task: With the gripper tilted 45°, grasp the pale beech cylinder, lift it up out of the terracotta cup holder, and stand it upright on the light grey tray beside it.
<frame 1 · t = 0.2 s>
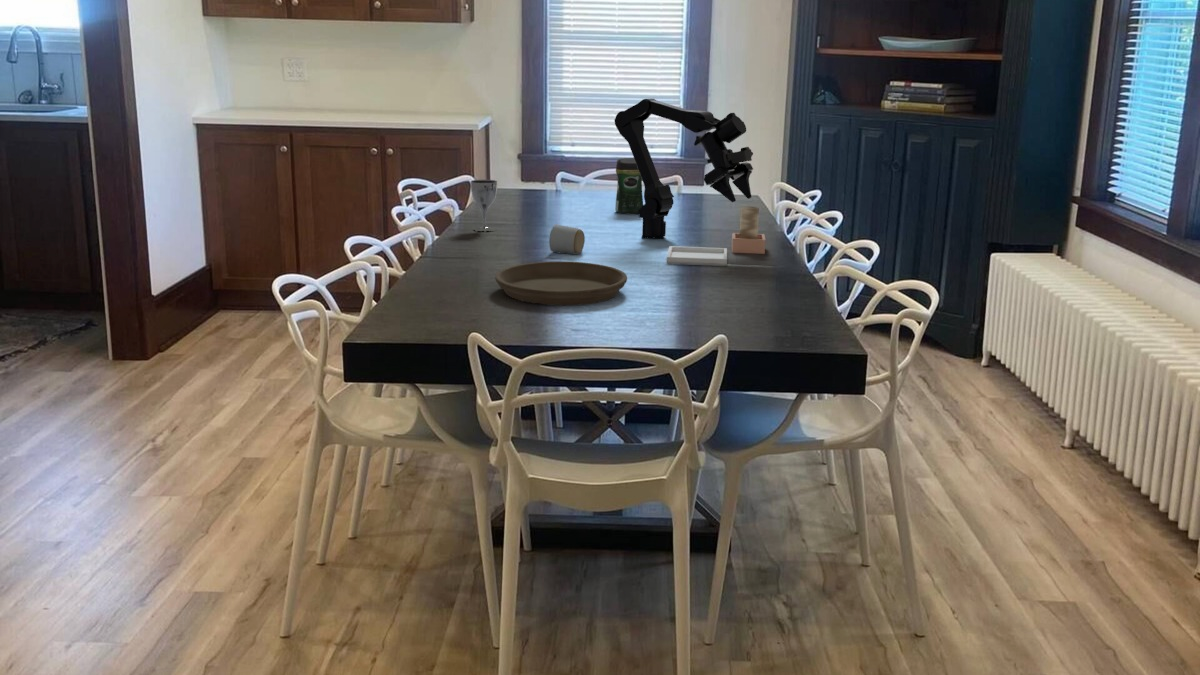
hand: (742, 199, 313), 14 cm above the table, tool tilted 35°, fingers open, 9 cm apart
wine glass: (484, 230, 340), on the table
plant saucer: (561, 293, 261), on the table
beech cylinder: (747, 249, 313), point 1 cm above the table, touching cup holder
cup holder: (747, 252, 313), on the table
coffee jar: (628, 213, 378), on the table
grey tray: (697, 259, 302), on the table
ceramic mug: (568, 253, 309), on the table
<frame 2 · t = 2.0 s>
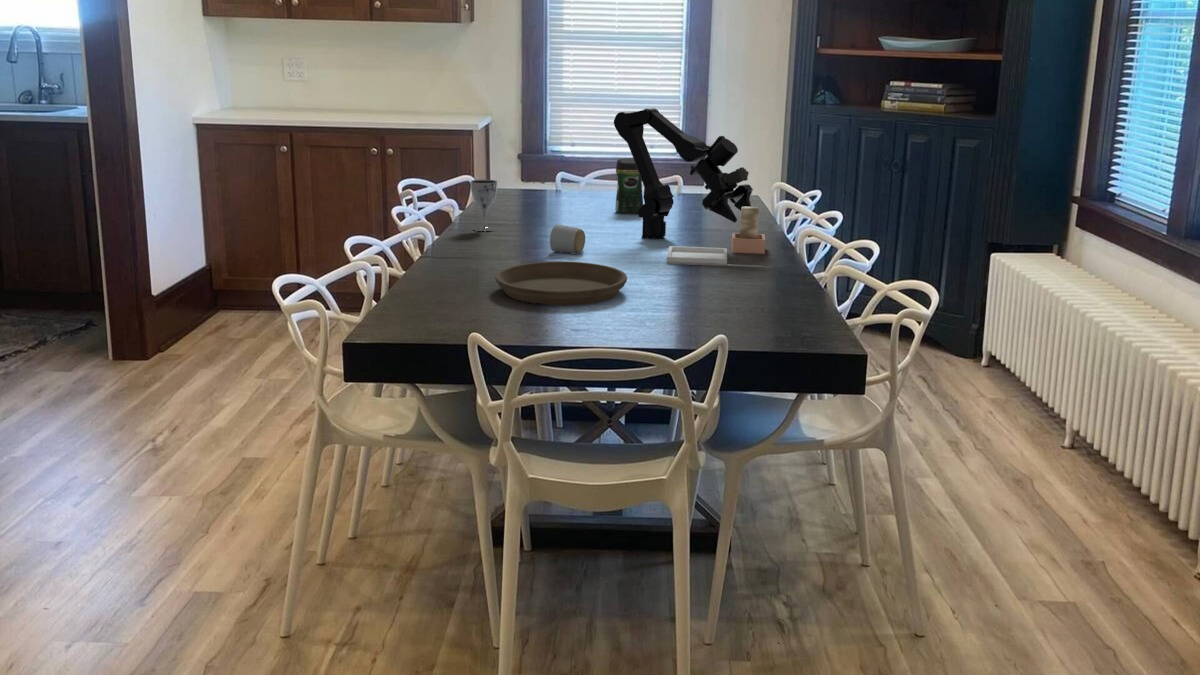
hand: (744, 219, 312), 9 cm above the table, tool tilted 45°, fingers open, 9 cm apart
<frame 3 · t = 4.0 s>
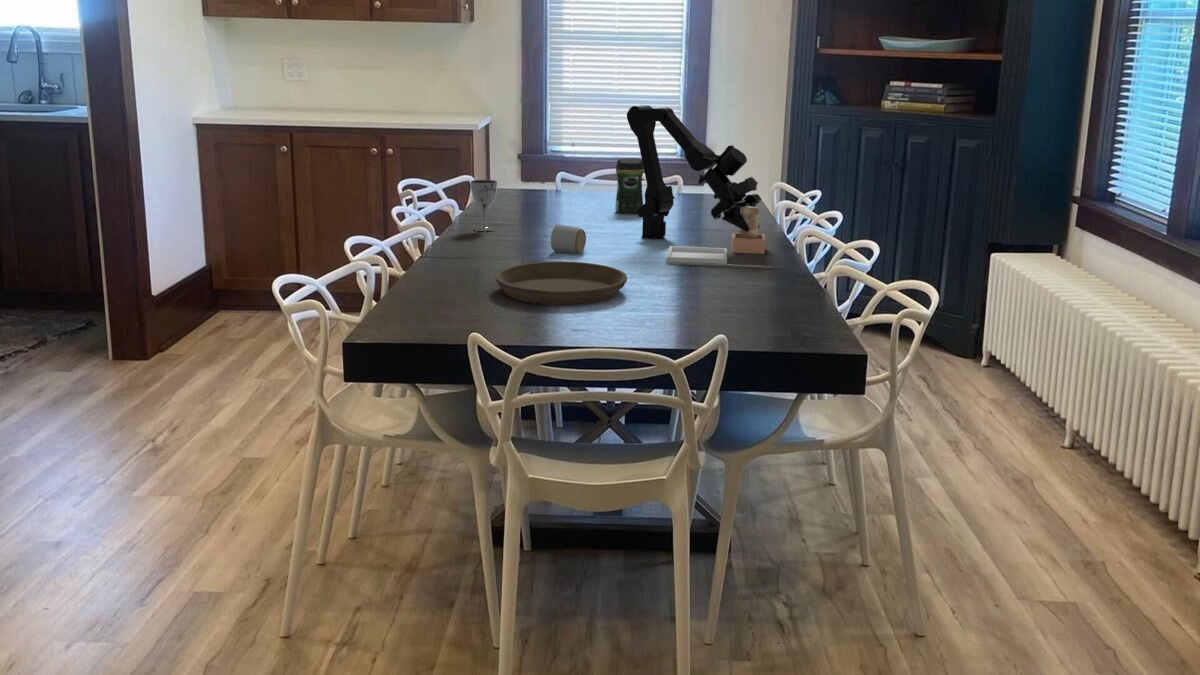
hand: (753, 229, 311), 7 cm above the table, tool tilted 45°, fingers closed on beech cylinder, 5 cm apart
beech cylinder: (747, 249, 313), point 1 cm above the table, touching cup holder, gripper
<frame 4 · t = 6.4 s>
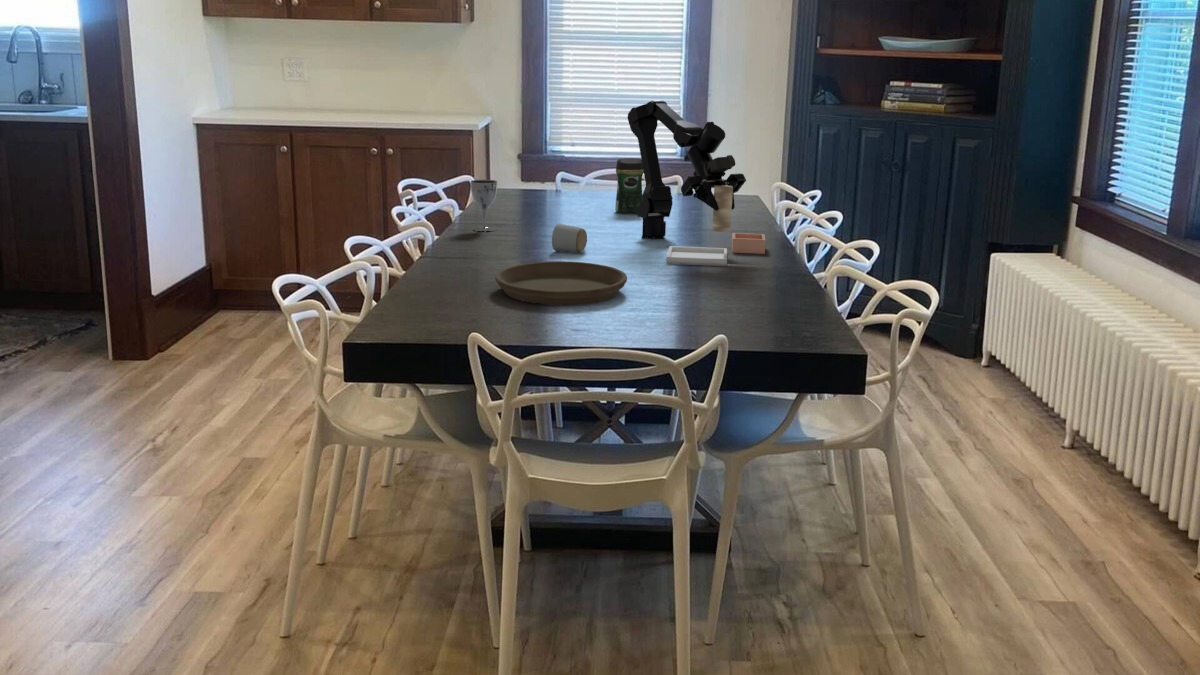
hand: (725, 209, 301), 13 cm above the table, tool tilted 45°, fingers closed on beech cylinder, 5 cm apart
beech cylinder: (721, 230, 303), point 7 cm above the table, touching gripper
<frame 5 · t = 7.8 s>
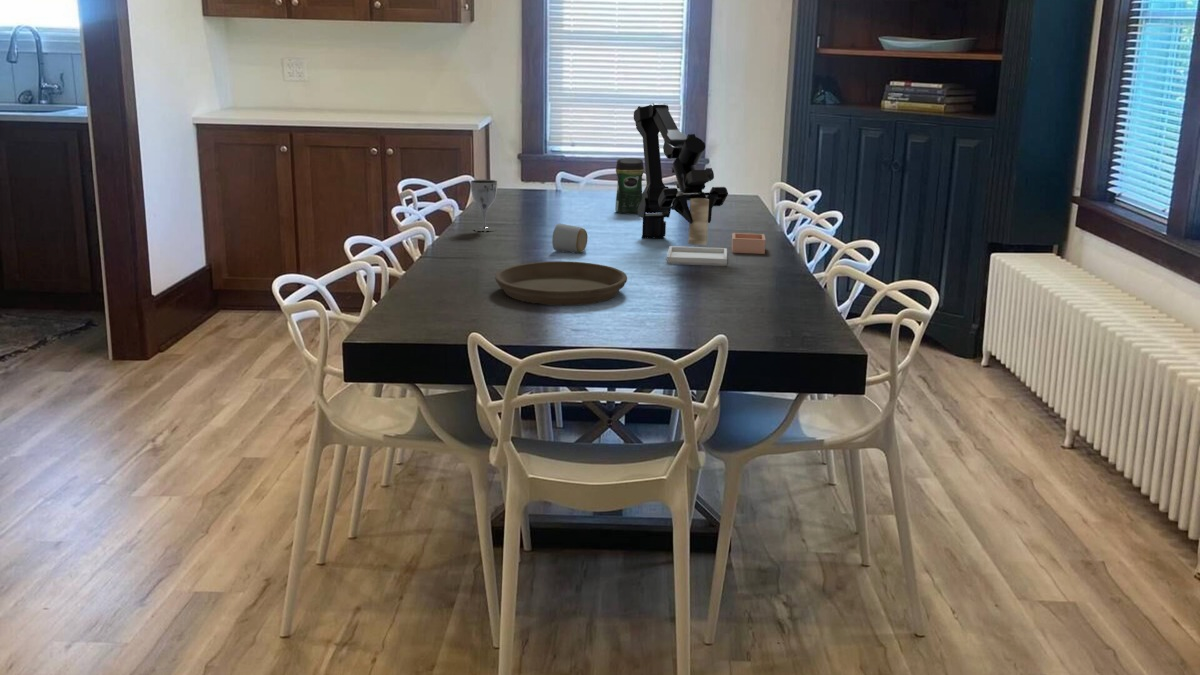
hand: (700, 222, 298), 10 cm above the table, tool tilted 45°, fingers closed on beech cylinder, 5 cm apart
beech cylinder: (697, 243, 301), point 4 cm above the table, touching gripper
when the fingers open (8 cm above the table, at t = 9.1 s): beech cylinder drops 1 cm, resting on grey tray.
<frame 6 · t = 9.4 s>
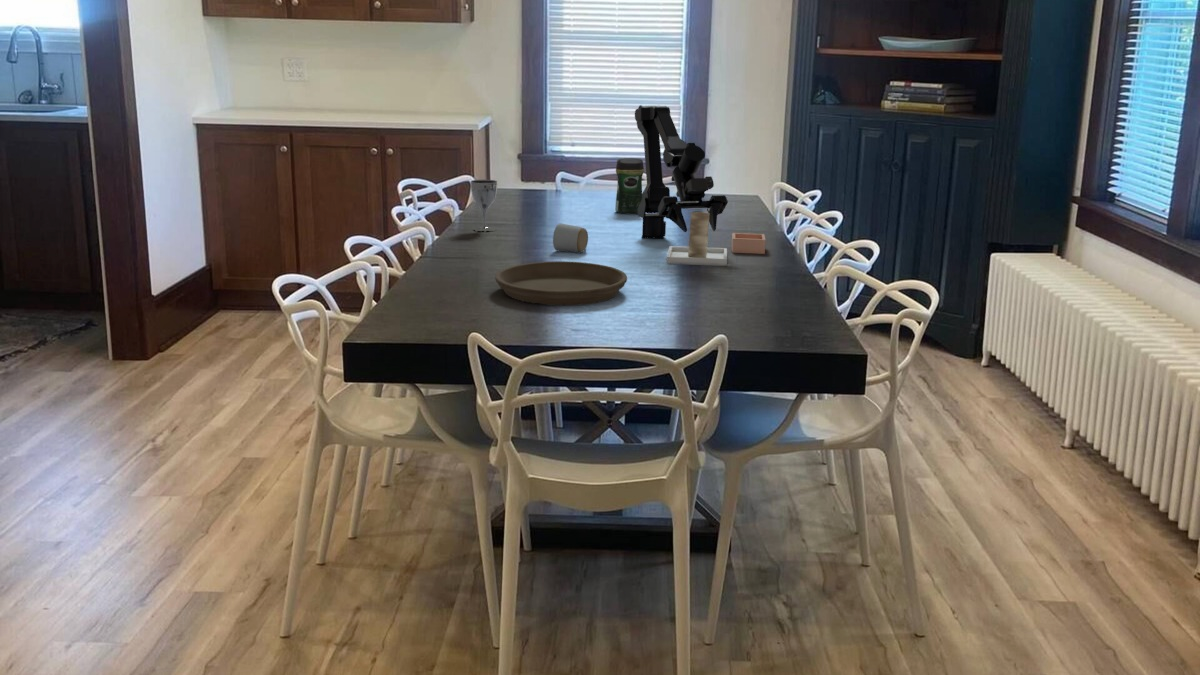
hand: (700, 230, 299), 8 cm above the table, tool tilted 45°, fingers open, 8 cm apart
beech cylinder: (697, 256, 302), point 1 cm above the table, touching grey tray
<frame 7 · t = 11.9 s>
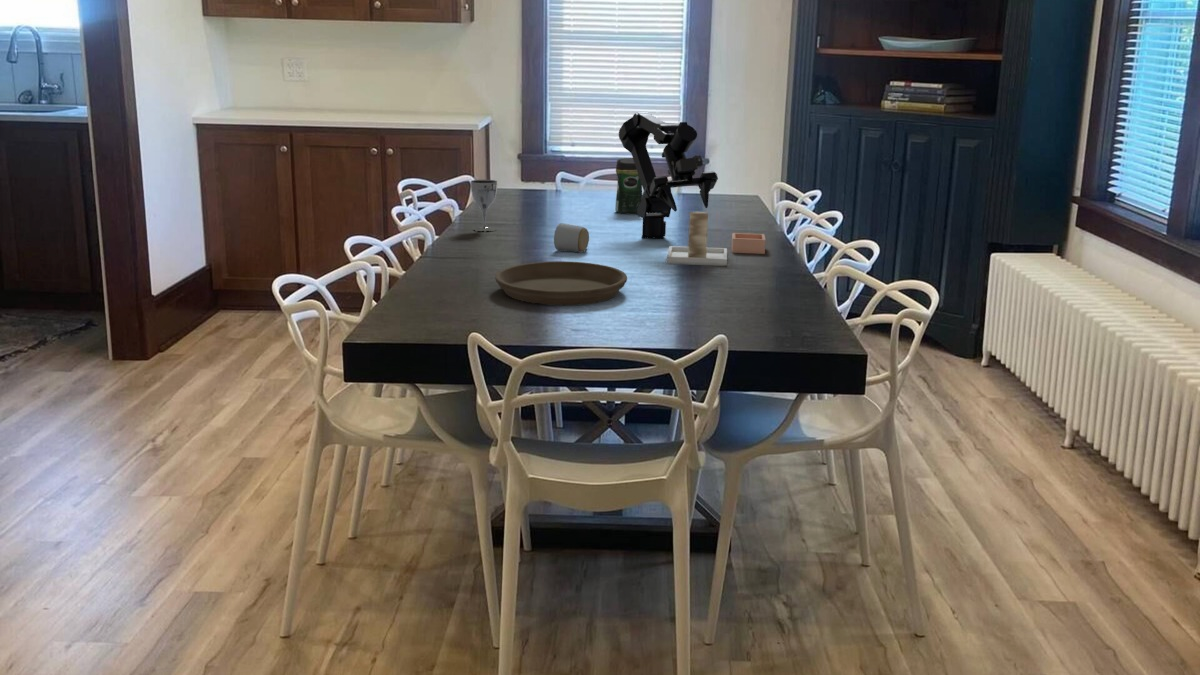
hand: (691, 209, 308), 12 cm above the table, tool tilted 40°, fingers open, 9 cm apart
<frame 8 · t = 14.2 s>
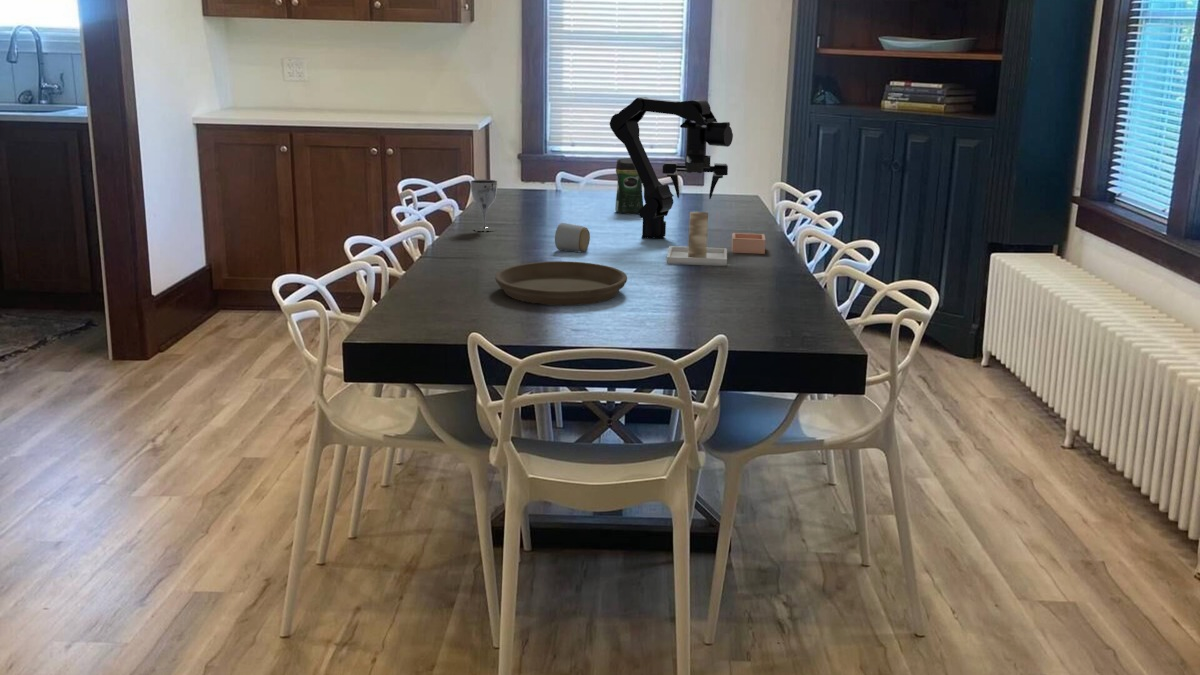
hand: (694, 198, 323), 13 cm above the table, tool pointing down, fingers open, 9 cm apart
at the end: beech cylinder inside the target area on the grey tray (0.0 cm from its centre), point 0.6 cm above the grey tray's base; beech cylinder tilted 0°; the gripper is holding nothing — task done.
